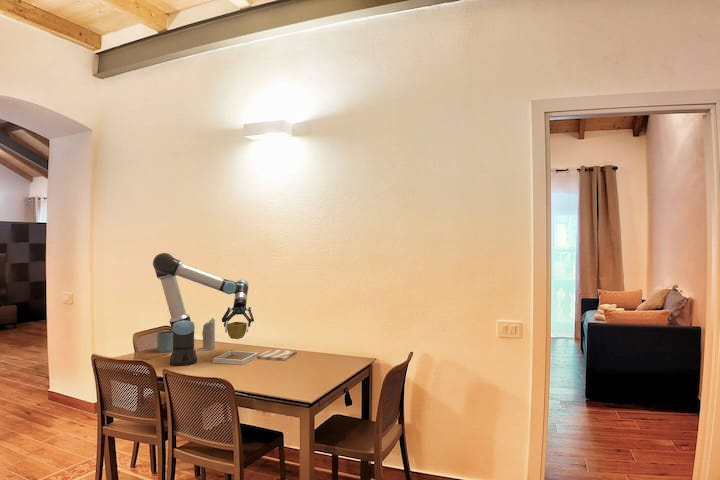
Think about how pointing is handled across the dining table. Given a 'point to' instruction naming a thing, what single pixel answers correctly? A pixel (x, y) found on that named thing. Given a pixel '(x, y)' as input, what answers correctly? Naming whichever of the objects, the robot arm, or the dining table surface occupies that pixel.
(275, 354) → the slatted trivet
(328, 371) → the dining table surface
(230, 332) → the flower pot
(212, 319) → the grey upright panel
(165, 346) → the drinking glass
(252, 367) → the dining table surface
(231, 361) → the grey square frame
